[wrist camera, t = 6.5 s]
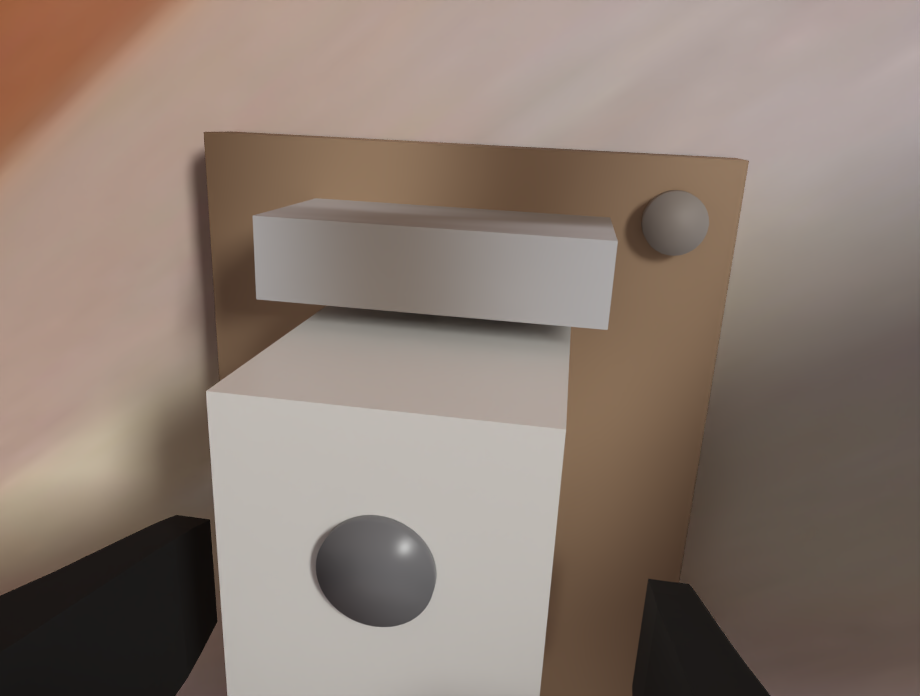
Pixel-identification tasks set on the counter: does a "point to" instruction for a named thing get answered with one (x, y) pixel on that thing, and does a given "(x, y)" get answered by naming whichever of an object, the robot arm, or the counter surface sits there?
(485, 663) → the power strip block
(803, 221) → the counter surface
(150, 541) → the robot arm
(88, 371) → the counter surface
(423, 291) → the mounting bracket
